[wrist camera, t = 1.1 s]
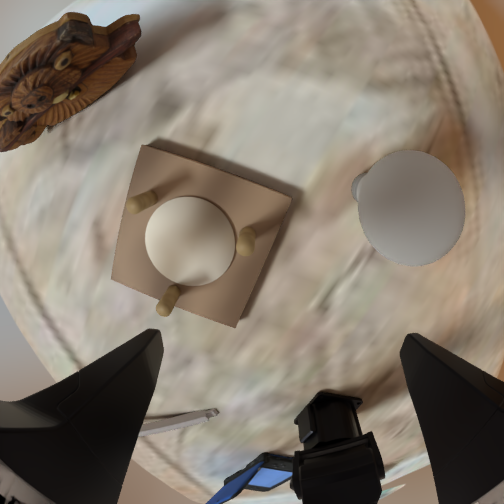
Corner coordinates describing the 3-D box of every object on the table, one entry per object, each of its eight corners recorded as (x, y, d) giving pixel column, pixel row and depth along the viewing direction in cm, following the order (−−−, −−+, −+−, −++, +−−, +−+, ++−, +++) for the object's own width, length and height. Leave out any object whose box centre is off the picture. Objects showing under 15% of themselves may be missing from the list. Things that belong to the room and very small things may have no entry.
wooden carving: (38, 163, 20) (-38, 180, 10) (26, 128, 18) (-47, 134, 9) (172, 59, 17) (114, 7, 8) (154, 23, 16) (97, -32, 6)
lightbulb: (382, 233, 21) (458, 296, 11) (316, 212, 21) (365, 270, 11) (404, 165, 19) (498, 184, 9) (338, 138, 19) (411, 127, 9)
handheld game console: (266, 486, 39) (266, 523, 31) (203, 473, 38) (196, 513, 29) (313, 458, 34) (318, 505, 26) (238, 444, 33) (234, 497, 24)
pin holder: (290, 196, 21) (297, 206, 17) (236, 321, 25) (232, 350, 21) (146, 145, 19) (123, 144, 16) (115, 274, 23) (94, 294, 20)
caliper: (107, 420, 33) (94, 448, 27) (103, 416, 33) (89, 444, 27) (219, 411, 30) (212, 452, 24) (215, 406, 29) (208, 447, 24)
